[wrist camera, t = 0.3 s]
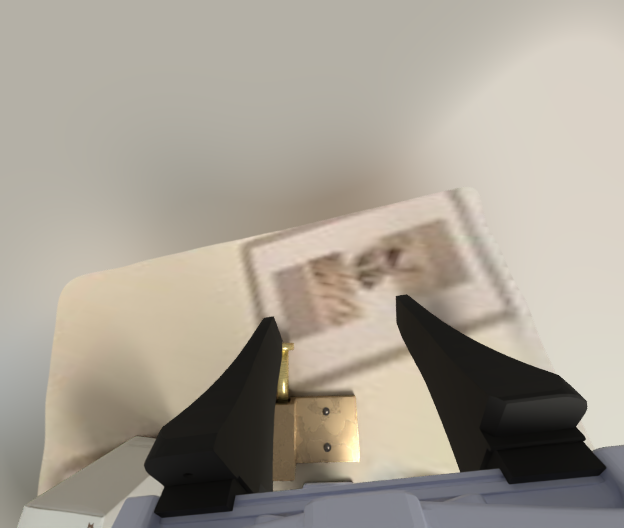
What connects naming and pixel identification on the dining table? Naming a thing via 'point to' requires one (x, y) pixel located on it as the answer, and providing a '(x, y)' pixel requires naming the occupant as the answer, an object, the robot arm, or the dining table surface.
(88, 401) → the dining table surface
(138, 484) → the supplement box
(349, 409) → the hinge
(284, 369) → the pin
